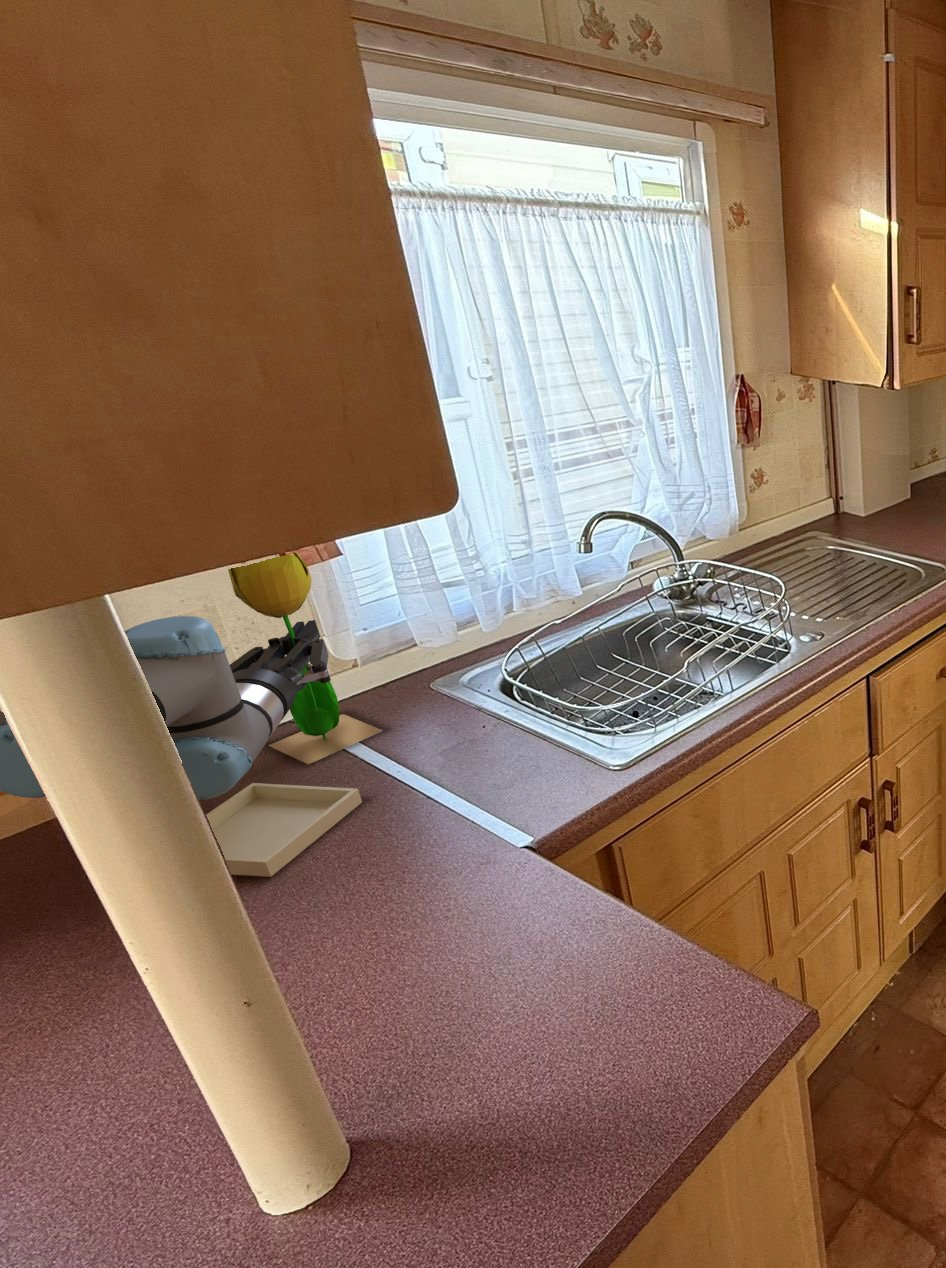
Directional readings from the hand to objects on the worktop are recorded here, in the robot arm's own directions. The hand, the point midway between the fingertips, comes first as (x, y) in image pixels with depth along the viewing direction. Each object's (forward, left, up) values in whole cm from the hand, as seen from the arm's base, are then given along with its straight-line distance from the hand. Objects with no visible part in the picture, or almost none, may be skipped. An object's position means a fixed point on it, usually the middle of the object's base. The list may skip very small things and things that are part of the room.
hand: (308, 629), depth 124 cm
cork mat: (+2, -5, -16) cm, 17 cm away
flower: (+2, -5, -15) cm, 16 cm away
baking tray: (+11, -26, -16) cm, 32 cm away
